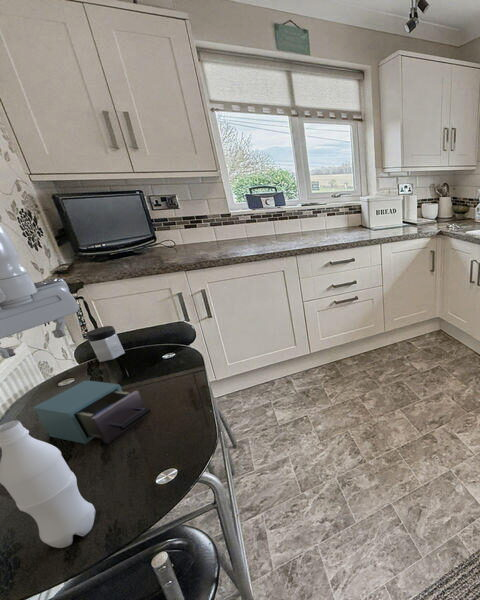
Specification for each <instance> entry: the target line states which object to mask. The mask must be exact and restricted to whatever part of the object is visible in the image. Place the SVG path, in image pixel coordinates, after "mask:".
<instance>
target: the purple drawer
mask: <svg viewBox="0 0 480 600" xmlns="http://www.w3.org/2000/svg"><path fill="white" fill-rule="evenodd" d="M122 391H123V390H122ZM122 391H115V390H114V391H112V392H111V393H109V394H107V395H105V396H104V397H102V398H100V399H99V400H97V401H95V402H93V403H92V404H90V405H88V406H87V407H85V408H83V409H82V410H80V411H78V412H76V413H75V414H74V416H75V418H76V419H77V421H78V423H79V425H80V427H81V428H82V430H83V432H84V434H85V436H90V437H95V438H94V439H100V440H102V442H103V443H104V444H110V443H111V442H112V441H113V440H115V439H116V438H118V437H119V436H120V435H122V434H123V433H125V432H126V431H127V430H129V429H130V428H132V427H133V426H134V425H136V424H137V423H138V422H140V421H142V420H143V419H144V418H146V417H147V416H148V415H149V413H150V412H151V408H150V407H148V406H146V405H145V403H144V401H143V399H142V397H141V394H140V393H139V390H134V391H132V392H131V393H130V392H128V391H123V392H122ZM112 403H113V405H111V406H110V407H108V408H106V407H107V406H109V405H110V404H112ZM104 408H106V409H105V410H103V411H102V412H100V413H98V414H97V415H94V414H96V413H97V412H99V411H101V410H102V409H104Z"/></svg>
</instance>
